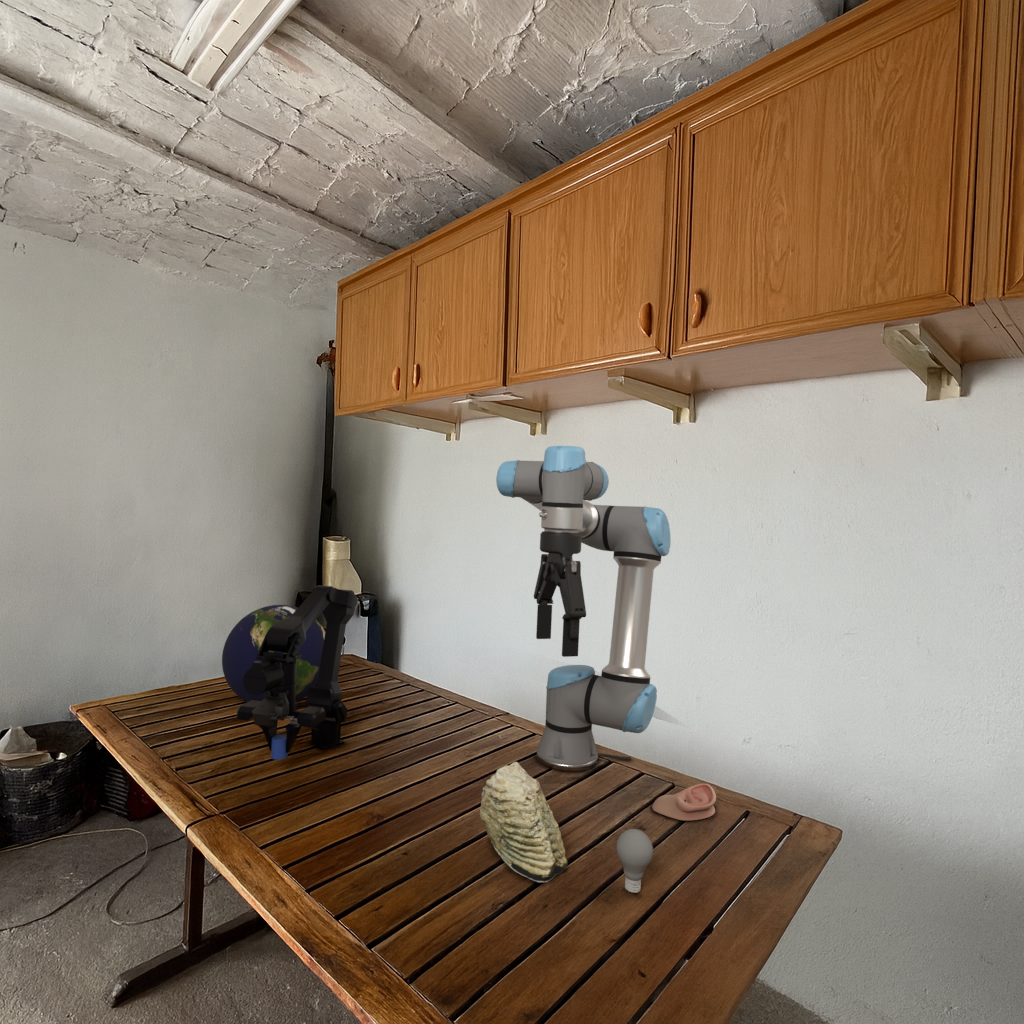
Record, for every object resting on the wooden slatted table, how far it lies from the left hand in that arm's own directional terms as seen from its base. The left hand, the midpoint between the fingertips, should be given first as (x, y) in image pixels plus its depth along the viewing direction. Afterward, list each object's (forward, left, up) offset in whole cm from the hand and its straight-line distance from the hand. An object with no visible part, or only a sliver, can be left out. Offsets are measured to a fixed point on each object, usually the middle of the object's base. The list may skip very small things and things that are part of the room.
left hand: (280, 751), depth 142 cm
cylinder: (0, 0, -1) cm, 1 cm away
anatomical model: (-54, +71, -6) cm, 90 cm away
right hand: (-20, +61, +32) cm, 72 cm away
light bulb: (-21, +79, -6) cm, 81 cm away
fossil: (-15, +59, -6) cm, 61 cm away
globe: (-22, -44, -6) cm, 50 cm away
